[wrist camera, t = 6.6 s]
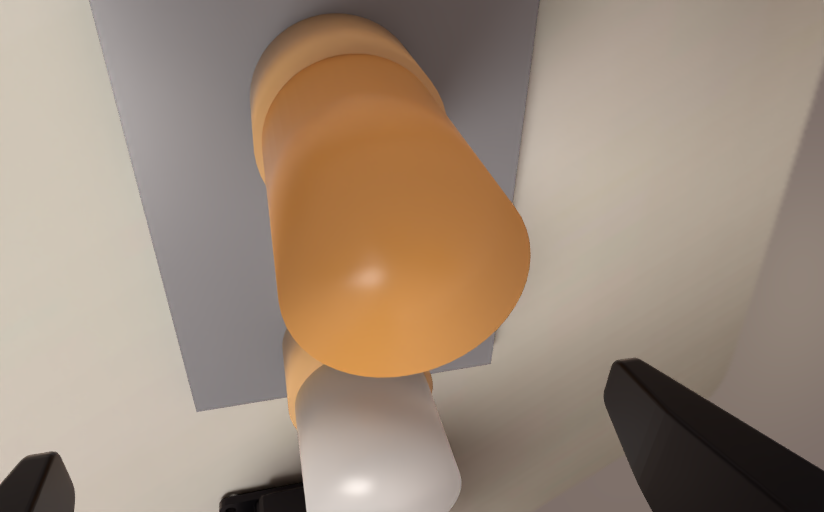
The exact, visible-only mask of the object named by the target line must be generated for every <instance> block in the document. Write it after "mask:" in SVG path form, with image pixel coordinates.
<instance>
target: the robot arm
mask: <svg viewBox="0 0 824 512" xmlns="http://www.w3.org/2000/svg"><path fill="white" fill-rule="evenodd" d="M604 402H605V406H606V409H607V411H608V413H609V416H610V418H611V421H612V423H613V426H614V428H615V430H616V433H617V435H618V438H619V440H620V443H621V445H622V447H623V450H624V452H625V455H626V457H627V460H628V462H629V464H630V467H631V469H632V471H633V474H634V476H635V478H636V480H637V483H638V485H639V487H640V489H641V491H642V493H643V495H644V496H645V498H646V500H647V502H648V504H649V506H650V507H651V509H652V511H653V512H824V471H823V470H822V469H820V468H819V467H817V466H815V465H814V464H812V463H810V462H809V461H807V460H805V459H804V458H802V457H800V456H799V455H797V454H795V453H794V452H792V451H790V450H789V449H787V448H785V447H784V446H782V445H781V444H779V443H777V442H776V441H774V440H772V439H771V438H769V437H767V436H766V435H764V434H762V433H761V432H759V431H758V430H756V429H754V428H753V427H751V426H749V425H748V424H746V423H744V422H743V421H741V420H739V419H738V418H736V417H734V416H733V415H731V414H729V413H728V412H726V411H724V410H723V409H721V408H720V407H718V406H716V405H715V404H713V403H711V402H710V401H708V400H706V399H705V398H703V397H701V396H700V395H698V394H697V393H695V392H693V391H692V390H690V389H688V388H687V387H685V386H683V385H682V384H680V383H678V382H677V381H675V380H673V379H672V378H670V377H669V376H667V375H665V374H664V373H662V372H660V371H659V370H657V369H655V368H654V367H652V366H650V365H649V364H647V363H645V362H644V361H642V360H640V359H638V358H628V359H622V360H617V361H615V362H614V363H613V364H612V366H611V370H610V373H609V377H608V380H607V383H606V387H605V390H604ZM74 506H75V491H74V486H73V483H72V481H71V479H70V476H69V474H68V472H67V470H66V467H65V465H64V463H63V461H62V459H61V457H60V455H59V454H58V453H57V452H46V453H39V454H33V455H29V456H26V457H25V458H23V459H22V460H21V461H20V462H19V463H18V464H17V465H16V467H15V468H14V469H13V470H12V471H11V472H10V474H9V475H8V476H7V477H6V478H5V479H4V480H3V482H2V483H1V484H0V512H74ZM219 512H307V511H306V502H305V493H304V485H303V483H299V484H293V485H288V486H283V487H278V488H273V489H267V490H262V491H257V492H252V493H247V494H241V495H236V496H231V497H227V498H224V499H223V500H221V502H220V504H219Z"/></svg>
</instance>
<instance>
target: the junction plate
mask: <svg viewBox="0 0 824 512" xmlns="http://www.w3.org/2000/svg"><path fill="white" fill-rule="evenodd" d="M539 1H540V0H89V2H90V6H91V10H92V14H93V18H94V21H95V25H96V29H97V33H98V37H99V40H100V44H101V48H102V52H103V56H104V60H105V63H106V67H107V71H108V75H109V79H110V83H111V86H112V90H113V94H114V98H115V102H116V105H117V109H118V113H119V117H120V121H121V125H122V128H123V132H124V136H125V140H126V144H127V148H128V151H129V155H130V159H131V163H132V167H133V170H134V174H135V178H136V182H137V186H138V190H139V193H140V197H141V201H142V205H143V209H144V213H145V216H146V220H147V224H148V228H149V232H150V235H151V239H152V243H153V247H154V251H155V255H156V258H157V262H158V266H159V270H160V274H161V278H162V281H163V285H164V289H165V293H166V297H167V300H168V304H169V308H170V312H171V316H172V320H173V323H174V327H175V331H176V335H177V339H178V342H179V346H180V350H181V354H182V358H183V362H184V365H185V369H186V373H187V377H188V381H189V385H190V388H191V392H192V396H193V400H194V404H195V407H196V411H197V412H199V411H205V410H211V409H218V408H224V407H230V406H236V405H242V404H248V403H254V402H260V401H267V400H273V399H279V398H285V397H287V398H288V408H289V414H290V418H291V421H292V423H293V425H294V426H295V428H296V429H297V433H298V441H299V450H300V459H301V467H302V476H303V485H304V493H305V502H306V511H307V512H449V510H450V509H451V508H452V507H453V505H454V504H455V502H456V500H457V499H458V496H459V494H460V491H461V484H462V480H461V475H460V472H459V469H458V467H457V464H456V461H455V458H454V455H453V452H452V450H451V447H450V444H449V441H448V438H447V436H446V433H445V430H444V427H443V424H442V422H441V419H440V416H439V413H438V410H437V408H436V405H435V402H434V399H433V396H432V389H433V382H432V377H431V374H432V373H438V372H444V371H450V370H457V369H463V368H469V367H475V366H481V365H487V364H491V359H492V351H493V344H494V336H495V332H494V333H493V334H492V335H490V336H489V337H488V338H487V339H486V340H485V341H483V342H482V343H481V344H480V345H478V346H477V347H476V348H474V349H473V350H471V351H470V352H468V353H466V354H465V355H463V356H461V357H459V358H458V359H456V360H454V361H452V362H450V363H447V364H445V365H442V366H440V367H438V368H435V369H432V370H428V371H425V372H422V373H417V374H412V375H408V376H400V377H384V378H376V377H364V376H358V375H353V374H348V373H345V372H342V371H339V370H336V369H334V368H331V367H329V366H327V365H325V364H323V363H321V362H320V361H318V360H316V359H315V358H313V357H312V356H311V355H309V354H308V353H307V352H306V351H305V350H303V349H302V348H301V347H300V345H299V344H298V343H297V342H296V341H295V340H294V339H293V337H292V335H291V334H290V332H289V331H288V329H287V327H286V325H285V322H284V320H283V318H282V315H281V311H280V306H279V301H278V292H277V283H276V273H275V264H274V255H273V246H272V237H271V227H270V218H269V209H268V200H267V190H266V181H265V172H264V163H263V153H262V132H263V126H264V122H265V117H266V115H267V112H268V110H269V107H270V105H271V104H272V102H273V100H274V98H275V97H276V95H277V94H278V92H279V91H280V90H281V89H282V87H283V86H284V85H285V84H286V83H287V82H288V81H289V80H290V79H291V78H292V77H293V76H295V75H296V74H297V73H298V72H300V71H301V70H302V69H304V68H306V67H308V66H310V65H311V64H313V63H315V62H318V61H320V60H323V59H325V58H329V57H333V56H337V55H343V54H369V55H376V56H379V57H383V58H386V59H389V60H391V61H393V62H396V63H398V64H400V65H401V66H403V67H404V68H406V69H408V70H409V71H410V72H411V73H413V74H414V75H415V76H416V77H417V78H418V79H419V80H420V81H421V82H422V83H423V84H424V86H425V87H426V88H427V89H428V91H429V92H430V93H431V95H432V96H433V97H434V99H435V100H436V102H437V103H438V104H439V106H440V107H441V108H442V110H443V111H444V112H445V114H446V115H447V116H448V118H449V119H450V120H451V122H452V123H453V124H454V126H455V127H456V128H457V130H458V131H459V133H460V134H461V135H462V137H463V138H464V139H465V141H466V142H467V143H468V145H469V146H470V147H471V149H472V150H473V151H474V153H475V154H476V155H477V157H478V158H479V159H480V161H481V162H482V163H483V165H484V166H485V168H486V169H487V170H488V172H489V173H490V174H491V176H492V177H493V178H494V180H495V181H496V182H497V184H498V185H499V186H500V188H501V189H502V190H503V192H504V193H505V194H506V196H507V197H508V198H509V200H510V201H511V203H512V202H513V195H514V187H515V180H516V172H517V165H518V157H519V150H520V142H521V135H522V127H523V120H524V113H525V105H526V98H527V90H528V83H529V75H530V68H531V60H532V53H533V45H534V38H535V31H536V23H537V16H538V8H539Z"/></svg>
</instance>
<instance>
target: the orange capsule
mask: <svg viewBox="0 0 824 512" xmlns="http://www.w3.org/2000/svg"><path fill="white" fill-rule="evenodd" d="M262 153H263V163H264V172H265V181H266V190H267V200H268V209H269V218H270V227H271V237H272V246H273V255H274V264H275V273H276V283H277V292H278V301H279V306H280V311H281V315H282V318H283V320H284V322H285V325H286V327H287V329H288V331H289V332H290V334H291V335H292V337H293V339H294V340H295V341H296V342H297V343H298V344H299V345H300V347H301V348H302V349H303V350H305V351H306V352H307V353H308V354H309V355H311V356H312V357H313V358H315V359H316V360H318V361H320V362H321V363H323V364H325V365H327V366H329V367H331V368H334V369H336V370H339V371H342V372H345V373H348V374H353V375H358V376H364V377H376V378H384V377H400V376H408V375H412V374H417V373H422V372H425V371H428V370H432V369H435V368H438V367H440V366H442V365H445V364H447V363H450V362H452V361H454V360H456V359H458V358H459V357H461V356H463V355H465V354H466V353H468V352H470V351H471V350H473V349H474V348H476V347H477V346H478V345H480V344H481V343H482V342H483V341H485V340H486V339H487V338H488V337H489V336H490V335H492V334H493V333H494V332H495V331H496V330H497V329H498V328H499V327H500V325H501V324H502V323H503V322H504V321H505V320H506V318H507V317H508V316H509V314H510V313H511V311H512V310H513V308H514V307H515V305H516V303H517V302H518V300H519V298H520V296H521V294H522V291H523V289H524V286H525V284H526V281H527V276H528V272H529V266H530V242H529V238H528V233H527V229H526V227H525V225H524V222H523V220H522V218H521V216H520V214H519V213H518V211H517V210H516V208H515V207H514V205H513V204H512V203H511V201H510V200H509V198H508V197H507V196H506V194H505V193H504V192H503V190H502V189H501V188H500V186H499V185H498V184H497V182H496V181H495V180H494V178H493V177H492V176H491V174H490V173H489V172H488V170H487V169H486V168H485V166H484V165H483V163H482V162H481V161H480V159H479V158H478V157H477V155H476V154H475V153H474V151H473V150H472V149H471V147H470V146H469V145H468V143H467V142H466V141H465V139H464V138H463V137H462V135H461V134H460V133H459V131H458V130H457V128H456V127H455V126H454V124H453V123H452V122H451V120H450V119H449V118H448V116H447V115H446V114H445V112H444V111H443V110H442V108H441V107H440V106H439V104H438V103H437V102H436V100H435V99H434V97H433V96H432V95H431V93H430V92H429V91H428V89H427V88H426V87H425V86H424V84H423V83H422V82H421V81H420V80H419V79H418V78H417V77H416V76H415V75H414V74H413V73H411V72H410V71H409V70H408V69H406V68H404V67H403V66H401V65H400V64H398V63H396V62H393V61H391V60H389V59H386V58H383V57H379V56H376V55H369V54H343V55H337V56H333V57H329V58H325V59H323V60H320V61H318V62H315V63H313V64H311V65H310V66H308V67H306V68H304V69H302V70H301V71H300V72H298V73H297V74H296V75H295V76H293V77H292V78H291V79H290V80H289V81H288V82H287V83H286V84H285V85H284V86H283V87H282V89H281V90H280V91H279V92H278V94H277V95H276V97H275V98H274V100H273V102H272V104H271V105H270V107H269V110H268V112H267V115H266V117H265V122H264V126H263V132H262Z"/></svg>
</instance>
